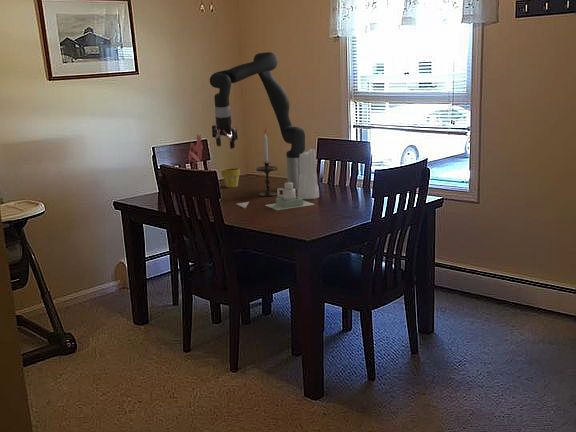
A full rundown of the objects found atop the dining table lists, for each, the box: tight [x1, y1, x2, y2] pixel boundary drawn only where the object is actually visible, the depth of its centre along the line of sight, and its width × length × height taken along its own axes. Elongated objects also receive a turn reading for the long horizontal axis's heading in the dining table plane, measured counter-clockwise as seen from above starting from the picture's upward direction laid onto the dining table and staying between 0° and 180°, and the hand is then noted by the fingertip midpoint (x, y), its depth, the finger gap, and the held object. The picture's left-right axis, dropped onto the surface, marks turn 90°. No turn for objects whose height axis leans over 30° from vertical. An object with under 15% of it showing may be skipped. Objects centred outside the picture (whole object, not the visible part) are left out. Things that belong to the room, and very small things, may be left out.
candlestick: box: [256, 128, 278, 198], centre depth 349 cm, size 11×11×35 cm
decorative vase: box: [296, 148, 320, 200], centre depth 338 cm, size 11×11×25 cm
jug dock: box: [264, 196, 316, 211], centre depth 324 cm, size 20×14×4 cm
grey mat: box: [236, 201, 250, 209], centre depth 331 cm, size 13×11×1 cm
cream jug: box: [276, 181, 297, 201], centre depth 323 cm, size 9×6×10 cm
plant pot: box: [220, 167, 241, 188], centre depth 381 cm, size 10×10×10 cm
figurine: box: [187, 133, 204, 171], centre depth 331 cm, size 15×26×35 cm, turn 13°
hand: (225, 147), depth 336 cm, fingers open, 8 cm apart
